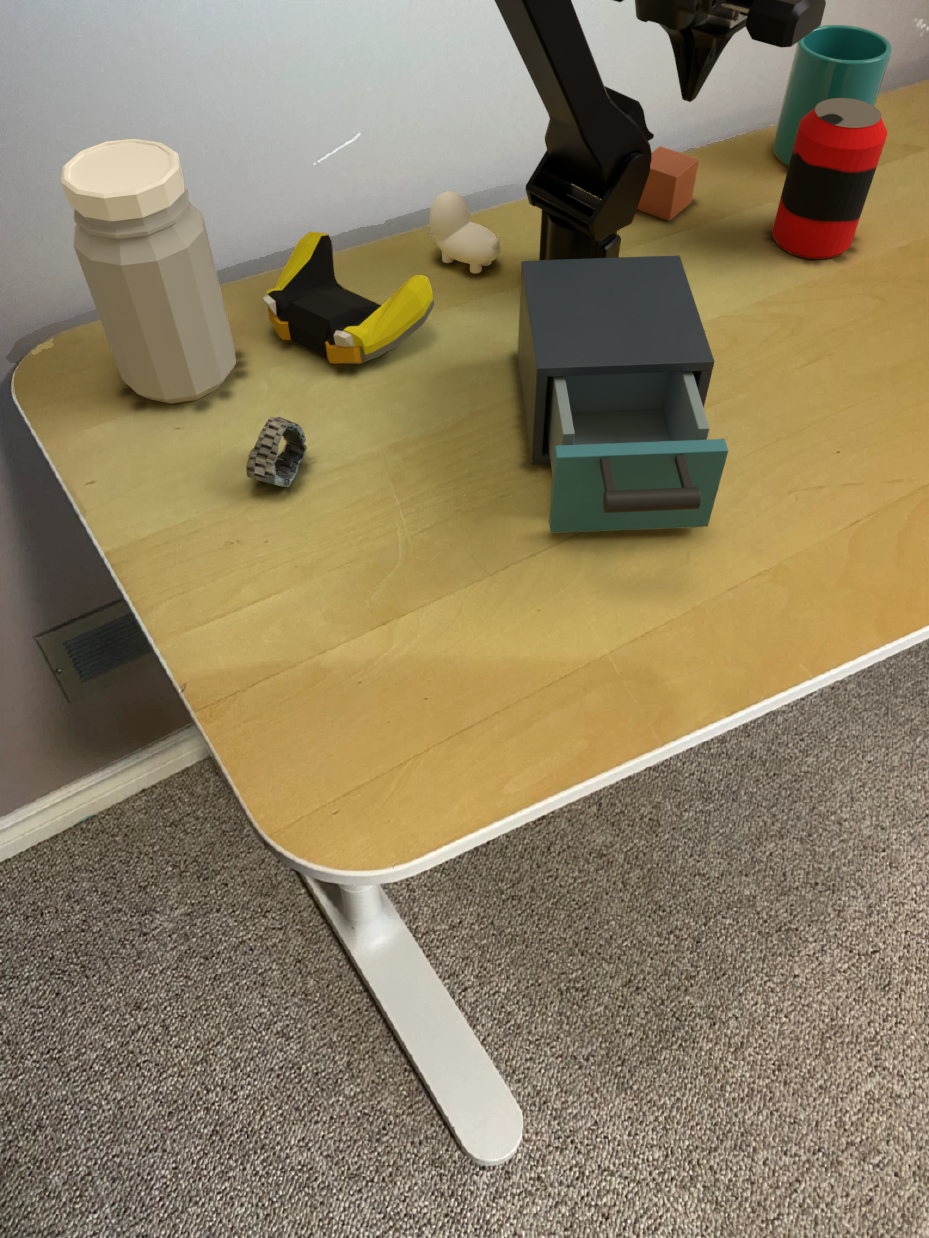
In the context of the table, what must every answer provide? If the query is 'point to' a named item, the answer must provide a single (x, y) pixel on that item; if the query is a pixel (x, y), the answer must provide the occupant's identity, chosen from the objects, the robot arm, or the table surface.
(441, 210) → the toy creature
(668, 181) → the block
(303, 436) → the wristwatch
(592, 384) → the drawer
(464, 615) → the table surface
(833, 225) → the soda can
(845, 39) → the cup
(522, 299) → the small filing cabinet
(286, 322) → the gaming controller
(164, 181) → the jar
